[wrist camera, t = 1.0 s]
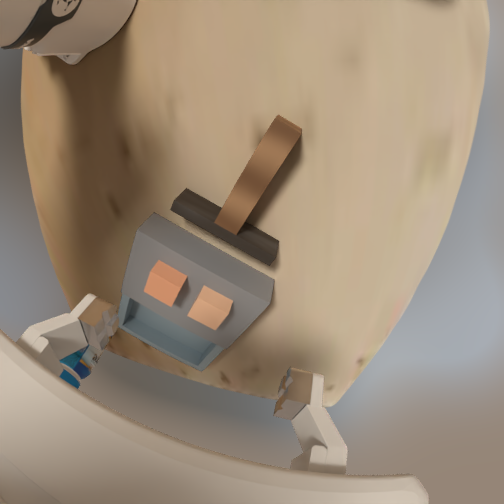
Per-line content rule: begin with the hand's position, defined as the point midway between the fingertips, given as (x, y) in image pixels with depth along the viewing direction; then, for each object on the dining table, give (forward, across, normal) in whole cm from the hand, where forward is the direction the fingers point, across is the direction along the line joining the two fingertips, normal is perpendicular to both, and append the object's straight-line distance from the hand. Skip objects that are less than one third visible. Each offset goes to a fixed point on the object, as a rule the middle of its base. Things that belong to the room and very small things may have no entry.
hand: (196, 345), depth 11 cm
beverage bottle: (+25, +31, +42) cm, 58 cm away
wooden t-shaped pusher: (+25, +2, 0) cm, 25 cm away
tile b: (+20, +4, +18) cm, 27 cm away
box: (+26, +12, +32) cm, 42 cm away
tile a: (+20, +11, +16) cm, 28 cm away
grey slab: (+25, +8, +19) cm, 32 cm away
